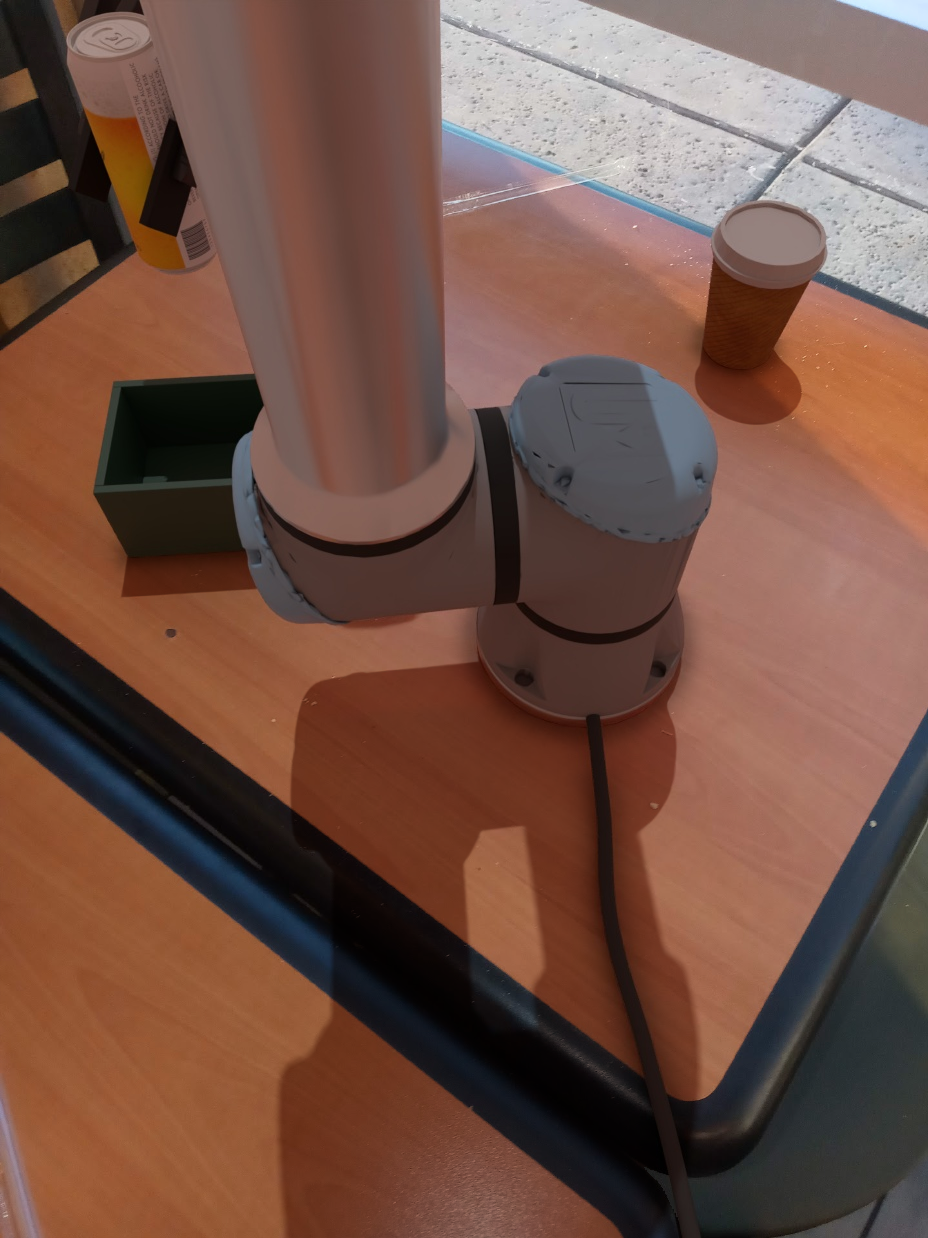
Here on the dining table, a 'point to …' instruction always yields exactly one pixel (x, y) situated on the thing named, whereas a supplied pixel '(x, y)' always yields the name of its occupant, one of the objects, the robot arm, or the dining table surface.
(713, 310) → the disposable coffee cup
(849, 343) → the dining table surface
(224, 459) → the open rectangular storage bin
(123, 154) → the beer can
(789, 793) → the dining table surface
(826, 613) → the dining table surface
